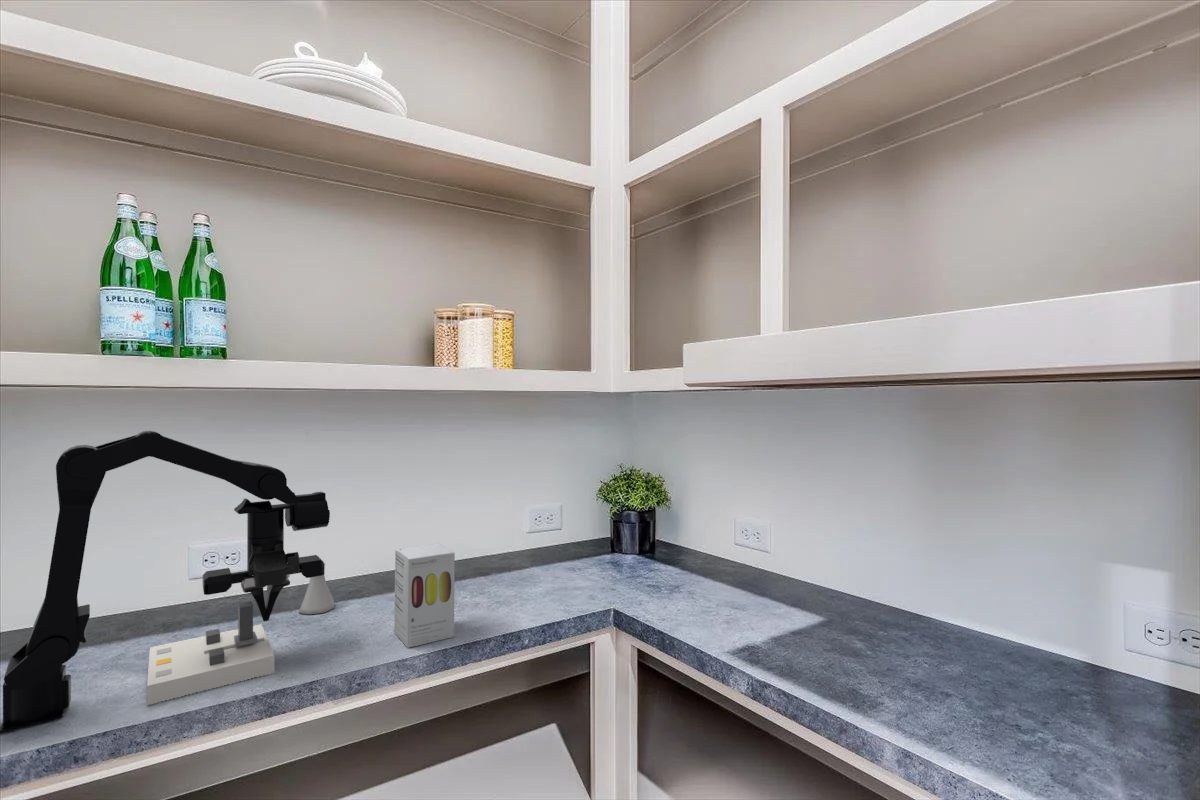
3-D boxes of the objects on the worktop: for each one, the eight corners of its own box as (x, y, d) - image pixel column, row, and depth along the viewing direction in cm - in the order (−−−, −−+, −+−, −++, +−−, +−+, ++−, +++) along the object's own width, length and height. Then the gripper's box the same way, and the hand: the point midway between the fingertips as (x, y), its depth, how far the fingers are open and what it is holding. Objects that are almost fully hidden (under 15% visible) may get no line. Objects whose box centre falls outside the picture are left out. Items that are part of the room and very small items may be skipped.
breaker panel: (147, 705, 87) (147, 676, 87) (150, 664, 100) (150, 638, 100) (274, 672, 97) (274, 646, 97) (261, 639, 110) (261, 616, 110)
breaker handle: (235, 647, 99) (235, 609, 99) (234, 640, 102) (233, 603, 102) (257, 642, 101) (257, 605, 101) (254, 635, 104) (254, 599, 104)
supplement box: (406, 649, 106) (406, 559, 106) (392, 632, 114) (392, 548, 114) (456, 636, 112) (455, 551, 112) (439, 621, 119) (439, 541, 119)
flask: (340, 603, 130) (340, 559, 130) (325, 615, 123) (325, 569, 123) (309, 603, 130) (309, 560, 130) (292, 615, 123) (292, 569, 123)
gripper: (205, 552, 91) (205, 649, 91) (331, 536, 103) (331, 622, 103) (202, 539, 100) (202, 627, 100) (318, 525, 112) (318, 604, 112)
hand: (265, 620), depth 103 cm, fingers closed
